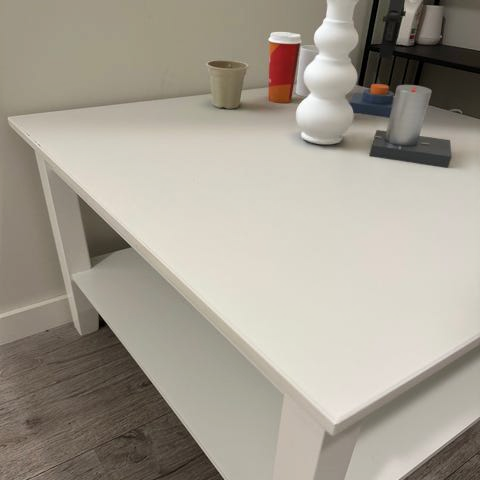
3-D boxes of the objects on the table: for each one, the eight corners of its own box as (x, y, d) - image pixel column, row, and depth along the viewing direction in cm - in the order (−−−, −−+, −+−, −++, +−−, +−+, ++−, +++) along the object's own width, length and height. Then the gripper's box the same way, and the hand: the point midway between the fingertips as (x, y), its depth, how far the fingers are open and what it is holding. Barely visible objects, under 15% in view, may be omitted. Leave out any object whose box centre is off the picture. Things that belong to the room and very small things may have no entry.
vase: (292, 129, 99) (308, -18, 83) (345, 133, 99) (371, -14, 83) (294, 147, 90) (312, -14, 75) (352, 151, 90) (382, -10, 75)
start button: (387, 93, 113) (389, 85, 112) (386, 97, 110) (388, 88, 109) (370, 91, 114) (372, 83, 113) (368, 94, 111) (370, 86, 110)
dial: (386, 133, 93) (398, 81, 87) (418, 138, 92) (432, 85, 86) (383, 143, 88) (396, 88, 83) (417, 147, 87) (432, 92, 81)
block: (401, 108, 116) (406, 90, 114) (399, 119, 109) (404, 100, 106) (352, 102, 119) (355, 84, 116) (347, 112, 111) (350, 93, 109)
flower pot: (253, 105, 113) (256, 64, 107) (232, 113, 106) (234, 70, 101) (220, 98, 116) (221, 58, 111) (198, 106, 110) (197, 64, 104)
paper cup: (278, 94, 122) (284, 30, 113) (301, 101, 117) (309, 35, 109) (257, 98, 117) (261, 32, 108) (280, 106, 113) (286, 38, 104)
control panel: (447, 150, 93) (450, 138, 92) (448, 167, 85) (452, 155, 84) (374, 139, 96) (376, 128, 95) (368, 156, 88) (371, 144, 87)
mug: (295, 97, 120) (301, 49, 114) (295, 89, 126) (300, 44, 120) (344, 100, 120) (352, 53, 113) (341, 92, 126) (348, 47, 120)
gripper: (433, -77, 83) (401, 64, 97) (433, -72, 101) (406, 47, 114) (390, -79, 85) (364, 60, 98) (397, -73, 102) (374, 44, 116)
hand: (386, 53), depth 106 cm, fingers open, 11 cm apart
